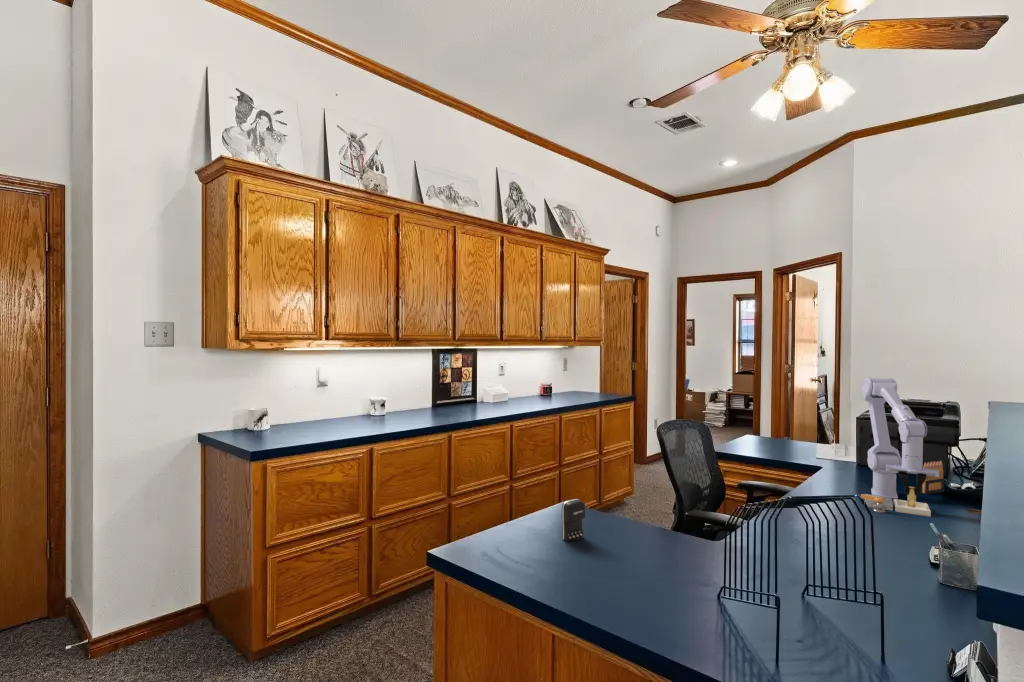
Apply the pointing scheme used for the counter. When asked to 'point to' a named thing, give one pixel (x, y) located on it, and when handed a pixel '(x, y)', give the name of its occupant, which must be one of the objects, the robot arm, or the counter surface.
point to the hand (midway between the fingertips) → (911, 494)
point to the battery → (572, 519)
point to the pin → (911, 497)
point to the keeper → (872, 498)
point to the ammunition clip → (933, 479)
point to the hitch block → (880, 504)
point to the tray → (912, 508)
